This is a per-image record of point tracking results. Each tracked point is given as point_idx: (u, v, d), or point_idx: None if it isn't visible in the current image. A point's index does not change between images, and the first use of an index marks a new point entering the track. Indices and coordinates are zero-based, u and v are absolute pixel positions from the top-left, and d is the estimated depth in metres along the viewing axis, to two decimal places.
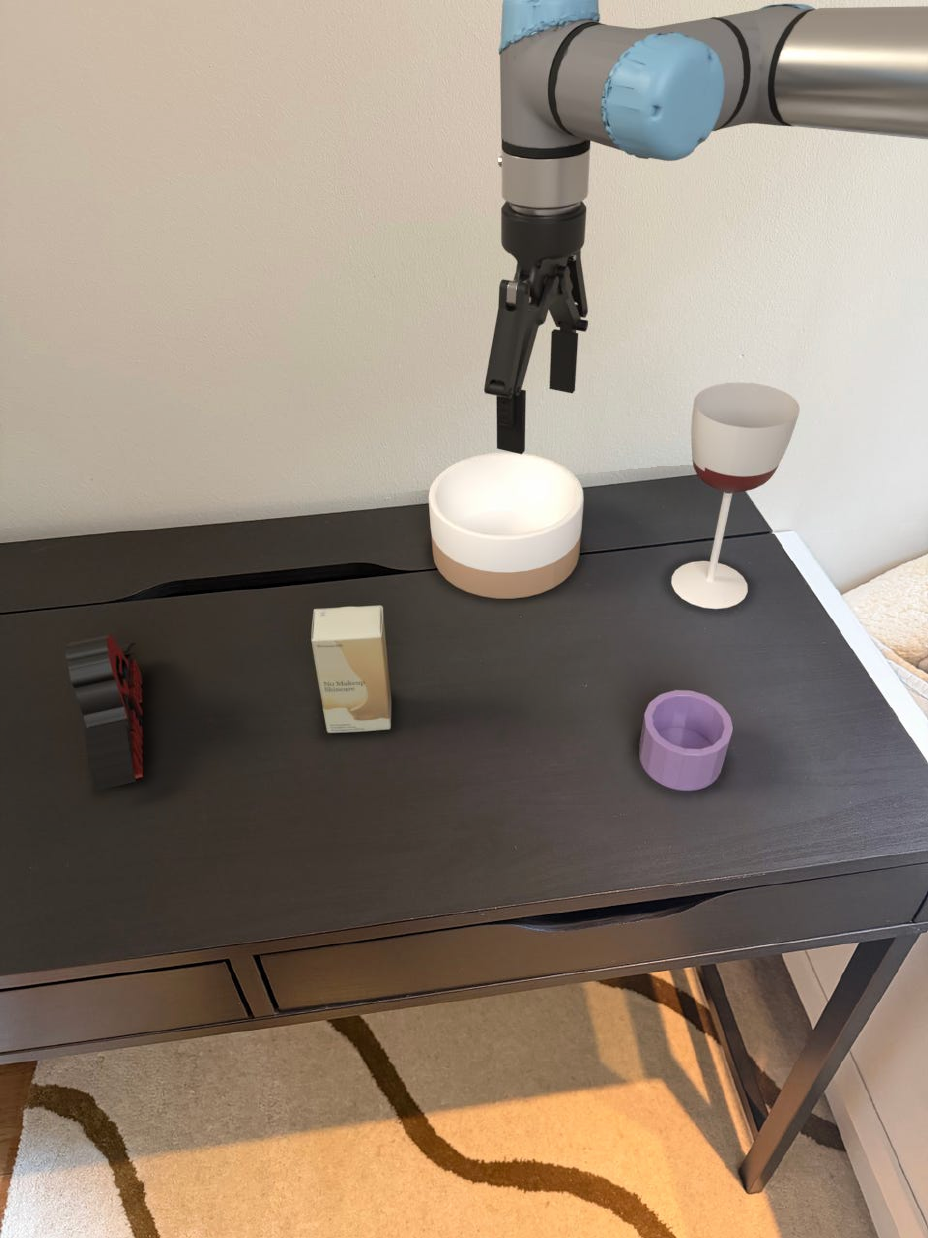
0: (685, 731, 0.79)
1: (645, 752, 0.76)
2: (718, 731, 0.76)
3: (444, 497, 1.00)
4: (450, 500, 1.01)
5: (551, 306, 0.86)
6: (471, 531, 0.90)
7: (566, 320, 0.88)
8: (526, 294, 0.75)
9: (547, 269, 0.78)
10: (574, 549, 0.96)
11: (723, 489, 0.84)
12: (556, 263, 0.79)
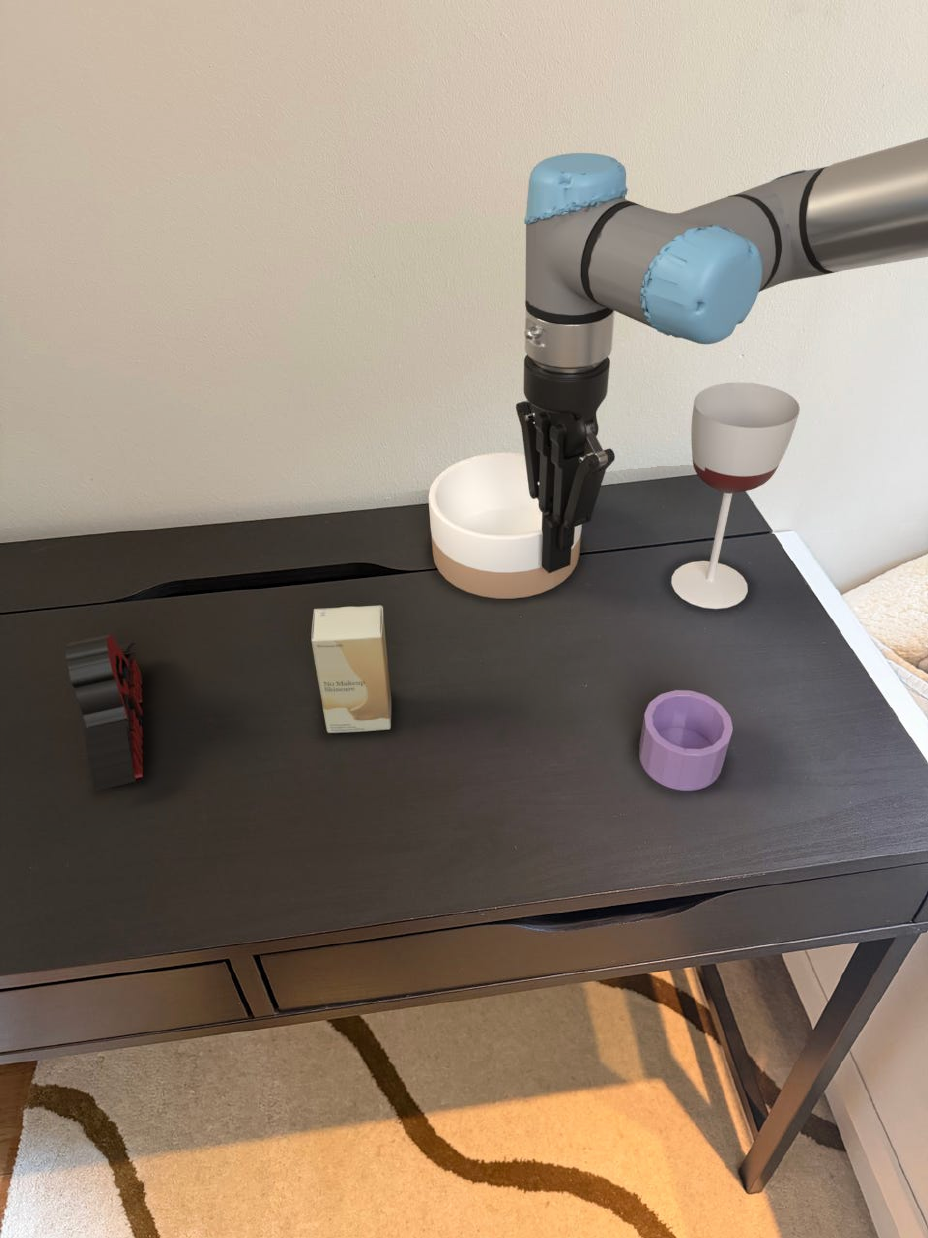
0: (685, 731, 0.79)
1: (645, 752, 0.76)
2: (718, 731, 0.76)
3: (444, 497, 1.00)
4: (450, 500, 1.01)
5: (550, 472, 0.83)
6: (471, 531, 0.90)
7: None
8: None
9: None
10: (574, 549, 0.96)
11: (723, 489, 0.84)
12: None
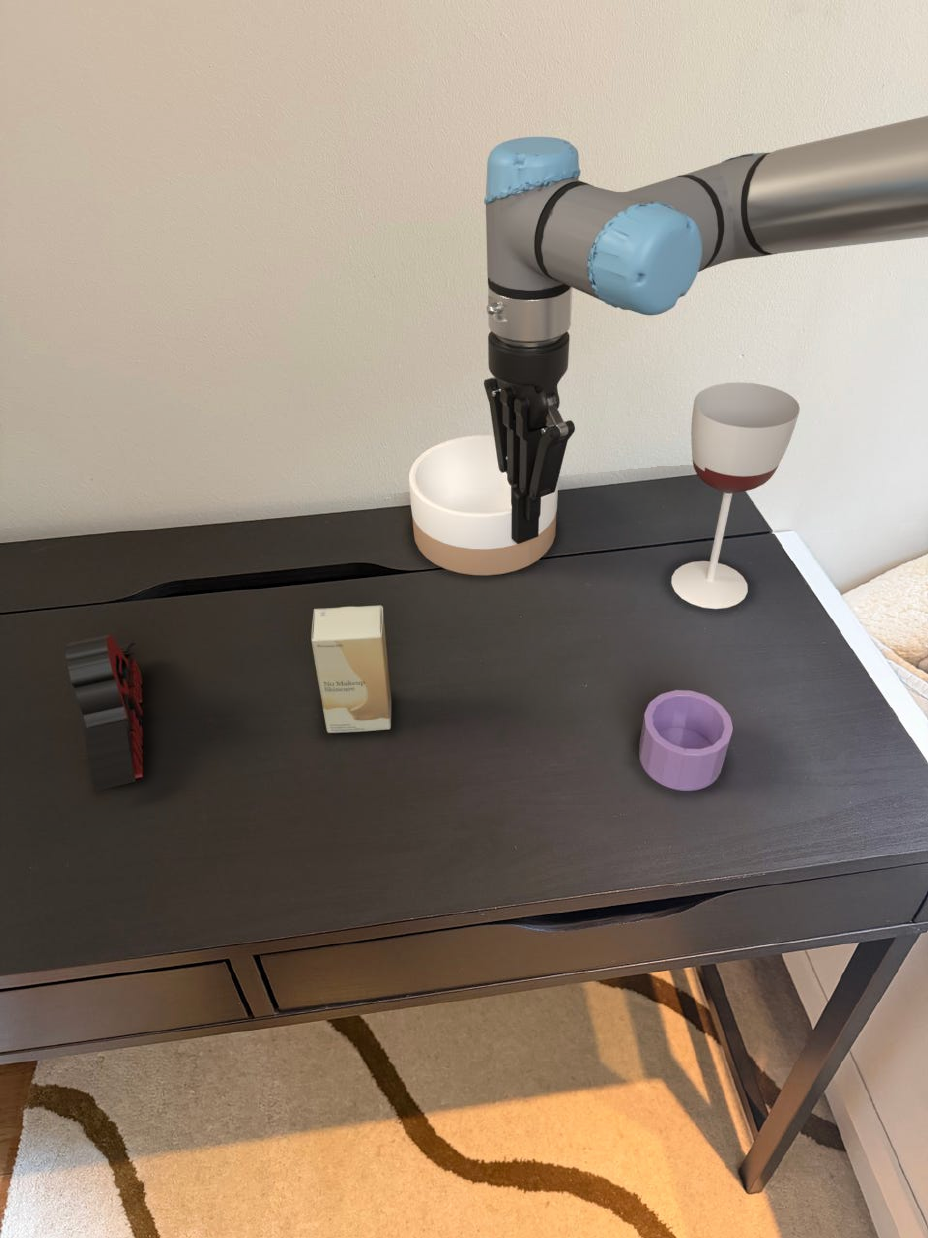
0: (685, 731, 0.79)
1: (645, 752, 0.76)
2: (718, 731, 0.76)
3: (425, 478, 1.03)
4: (431, 481, 1.05)
5: (517, 446, 0.87)
6: (448, 509, 0.93)
7: None
8: None
9: None
10: (549, 528, 0.99)
11: (723, 489, 0.84)
12: None
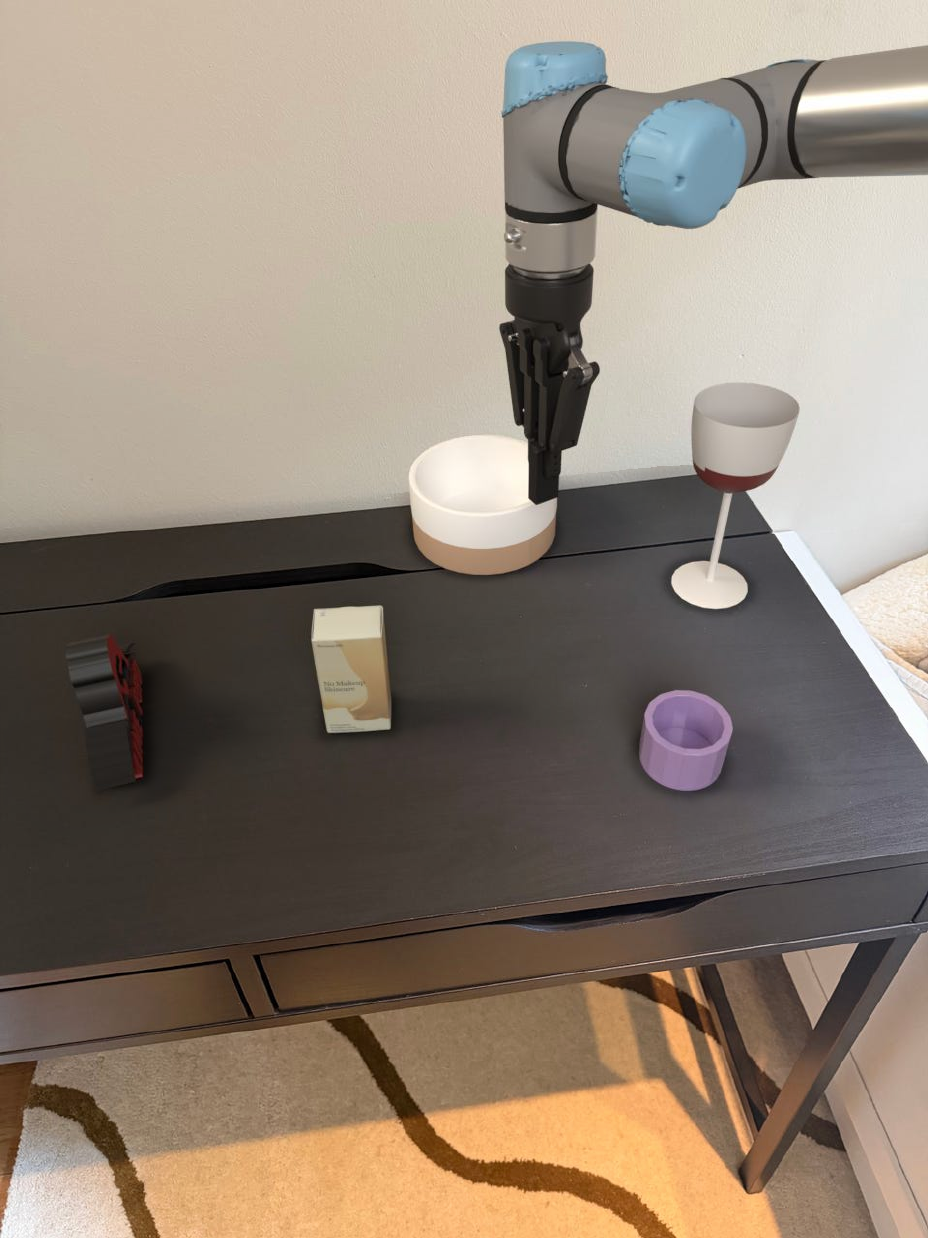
0: (685, 731, 0.79)
1: (645, 752, 0.76)
2: (718, 731, 0.76)
3: (425, 477, 1.03)
4: (431, 481, 1.05)
5: (535, 395, 0.81)
6: (447, 508, 0.93)
7: None
8: None
9: None
10: (549, 528, 0.99)
11: (723, 489, 0.84)
12: None
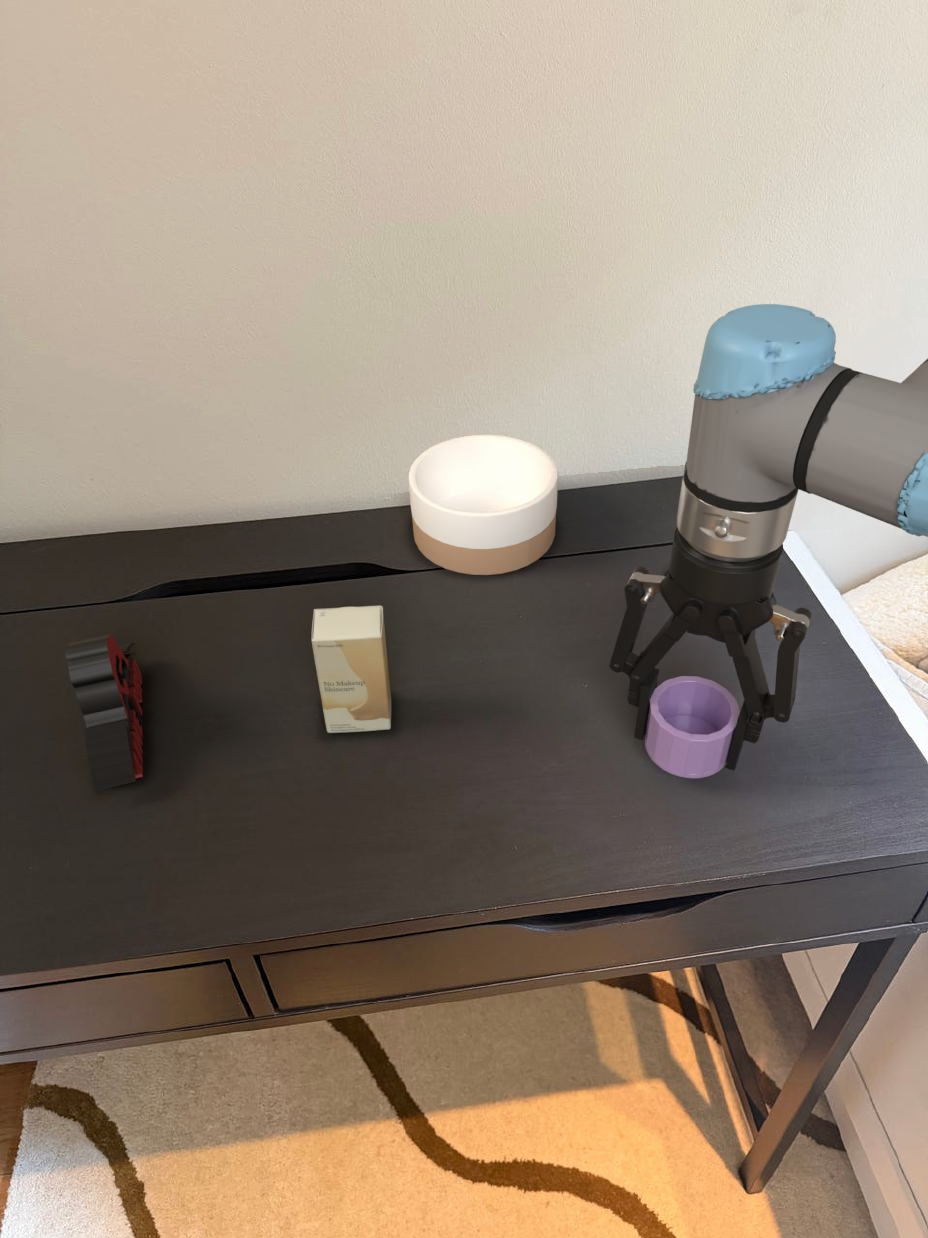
0: (691, 718, 0.78)
1: (650, 739, 0.74)
2: (725, 717, 0.74)
3: (425, 478, 1.03)
4: (431, 481, 1.05)
5: None
6: (447, 508, 0.93)
7: None
8: None
9: None
10: (549, 528, 0.99)
11: None
12: None
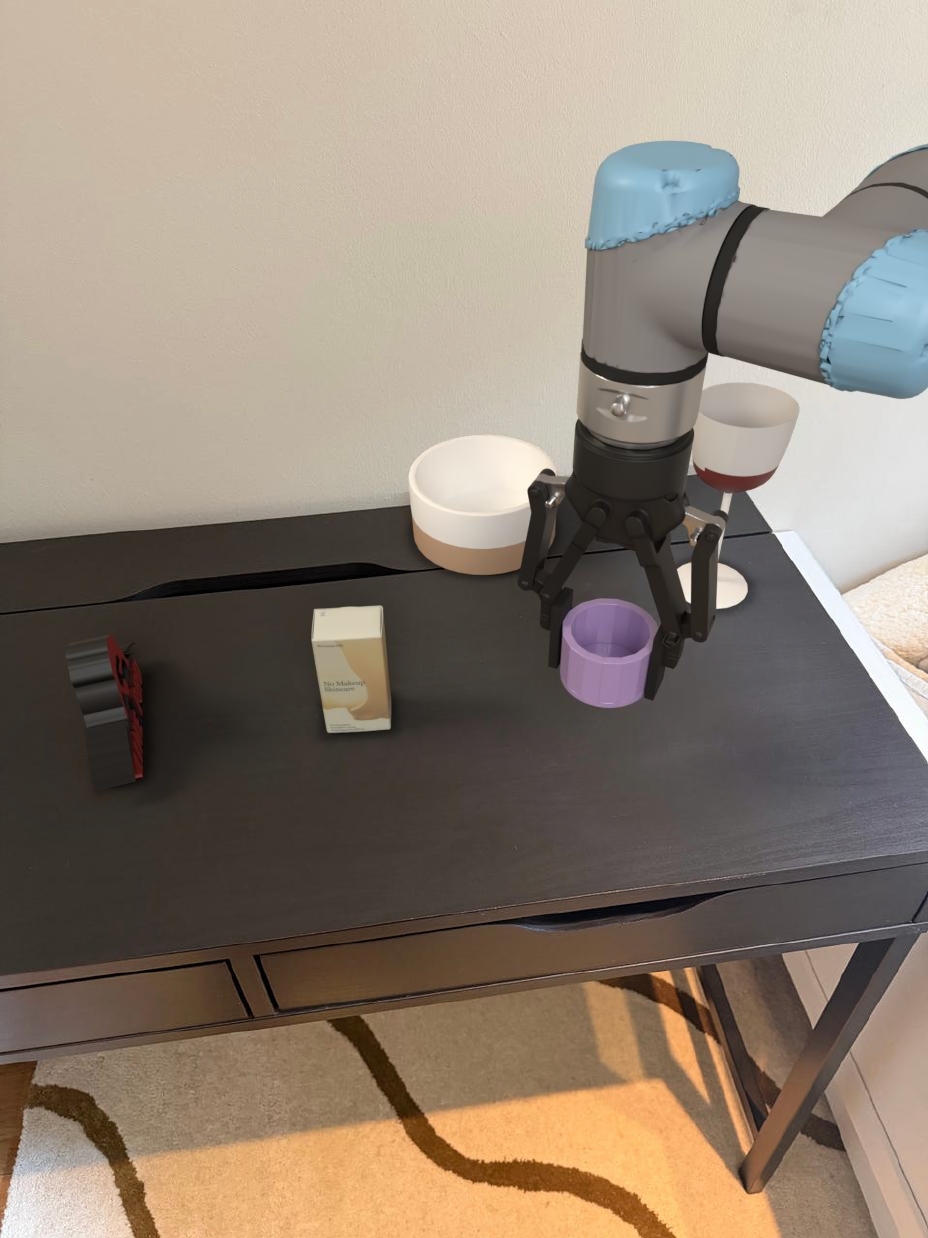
0: (612, 646, 0.71)
1: (563, 666, 0.68)
2: (646, 642, 0.68)
3: (425, 478, 1.03)
4: (431, 481, 1.05)
5: None
6: (447, 508, 0.93)
7: None
8: None
9: None
10: None
11: (723, 489, 0.84)
12: None
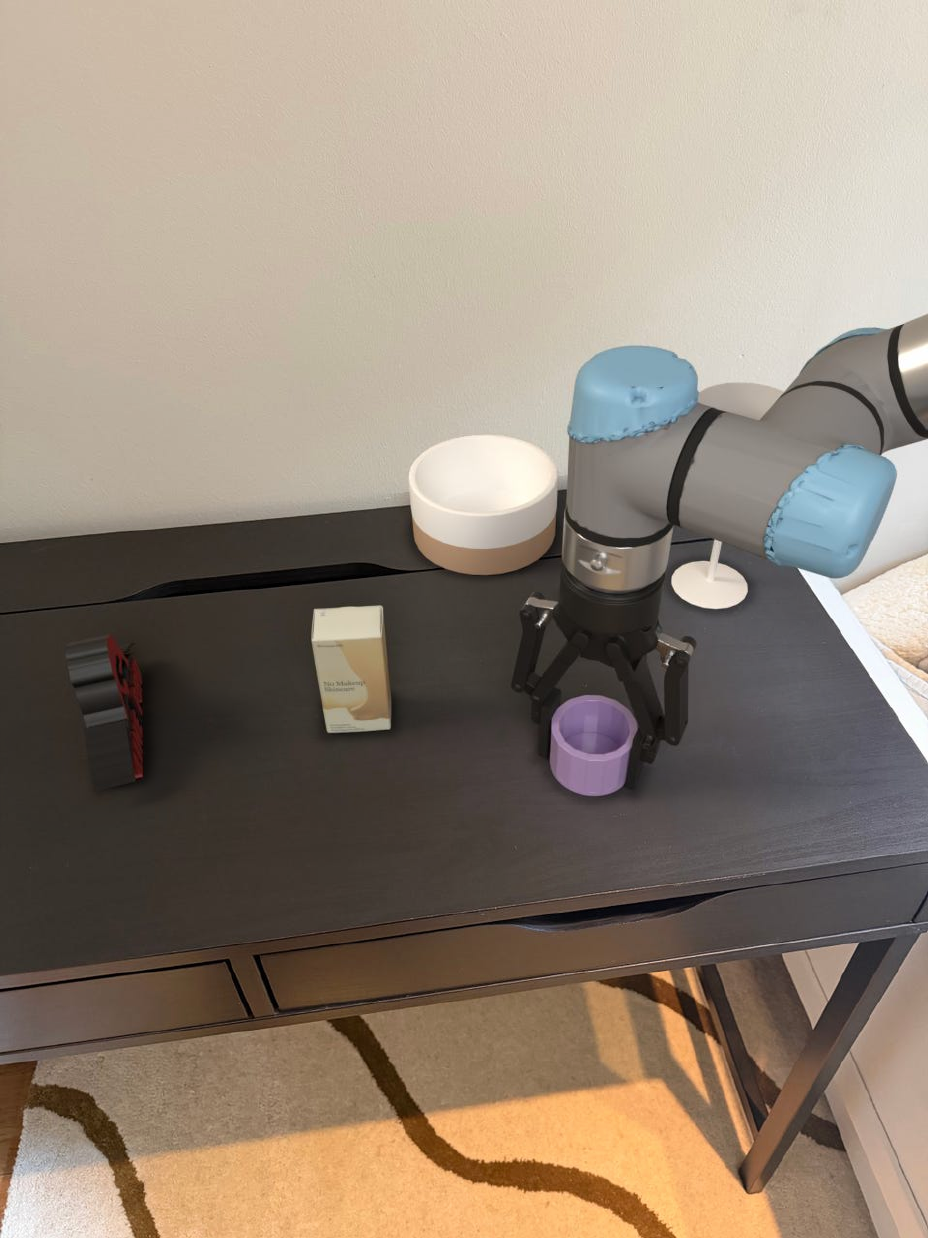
0: (597, 736, 0.79)
1: (552, 757, 0.76)
2: (627, 736, 0.76)
3: (425, 478, 1.03)
4: (431, 481, 1.05)
5: None
6: (447, 508, 0.93)
7: None
8: None
9: None
10: (549, 528, 0.99)
11: None
12: None
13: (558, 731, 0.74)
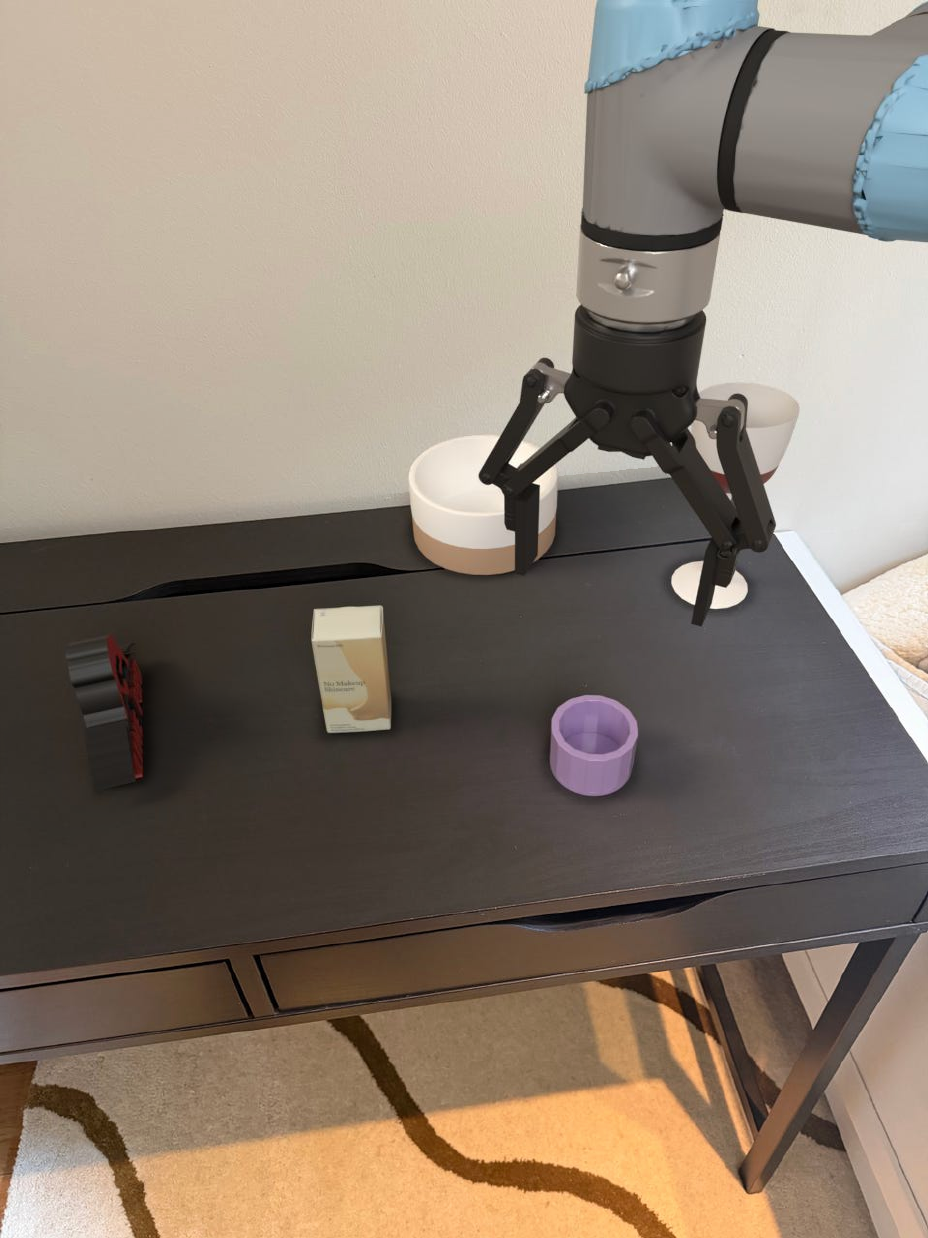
0: (597, 736, 0.79)
1: (552, 757, 0.76)
2: (627, 736, 0.76)
3: (425, 478, 1.03)
4: (431, 481, 1.05)
5: None
6: (447, 508, 0.93)
7: None
8: None
9: None
10: (549, 528, 0.99)
11: (723, 489, 0.84)
12: None
13: (558, 731, 0.74)
